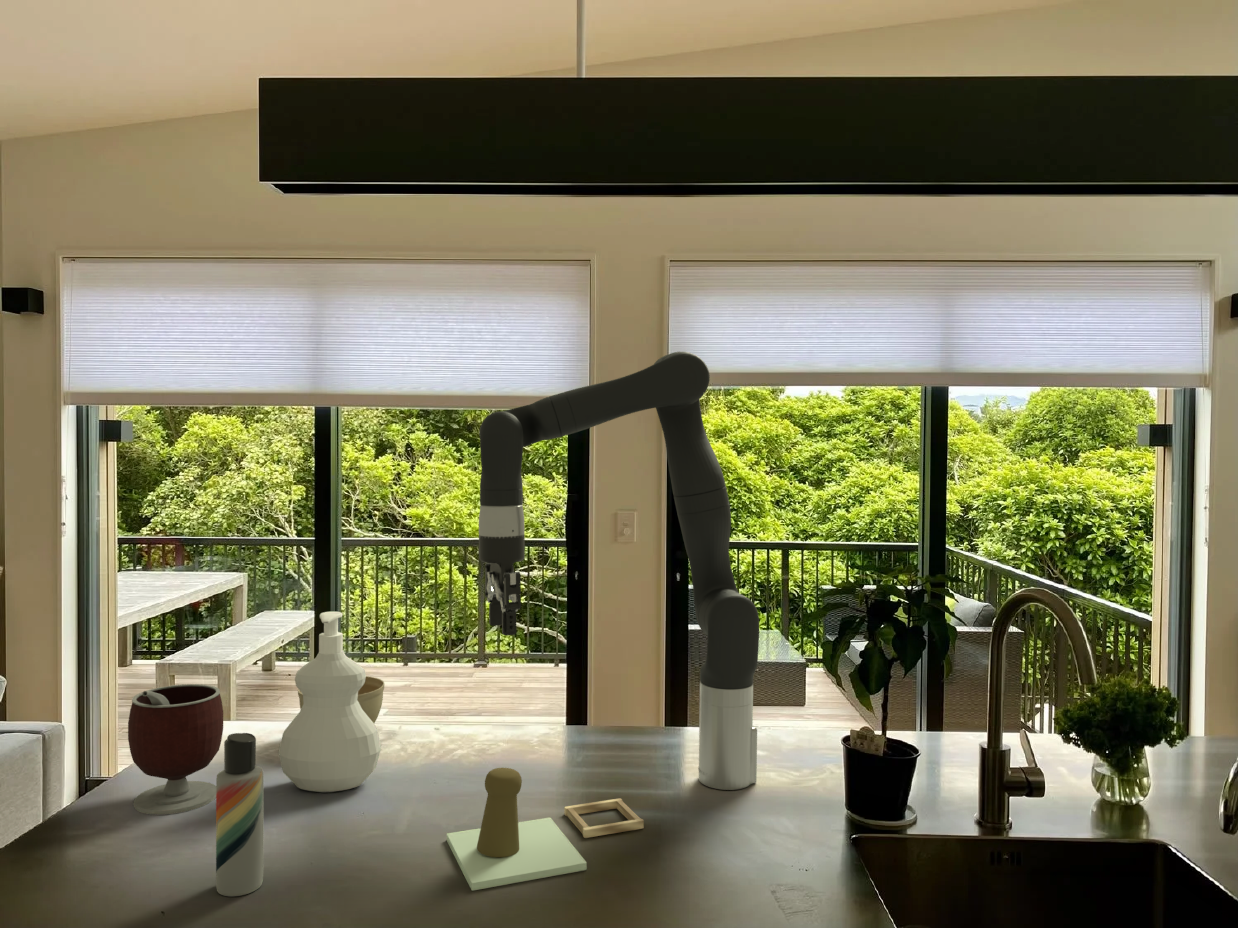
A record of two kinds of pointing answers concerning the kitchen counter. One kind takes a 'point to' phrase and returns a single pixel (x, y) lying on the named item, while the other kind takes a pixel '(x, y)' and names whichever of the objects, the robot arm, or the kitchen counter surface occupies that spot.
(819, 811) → the kitchen counter surface
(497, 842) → the cork
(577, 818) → the oak holder frame
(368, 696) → the planter bowl
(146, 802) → the mate gourd
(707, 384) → the robot arm
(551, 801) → the kitchen counter surface
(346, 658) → the soap bottle
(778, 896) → the kitchen counter surface
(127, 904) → the kitchen counter surface
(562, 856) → the sage board
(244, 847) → the lotion bottle
